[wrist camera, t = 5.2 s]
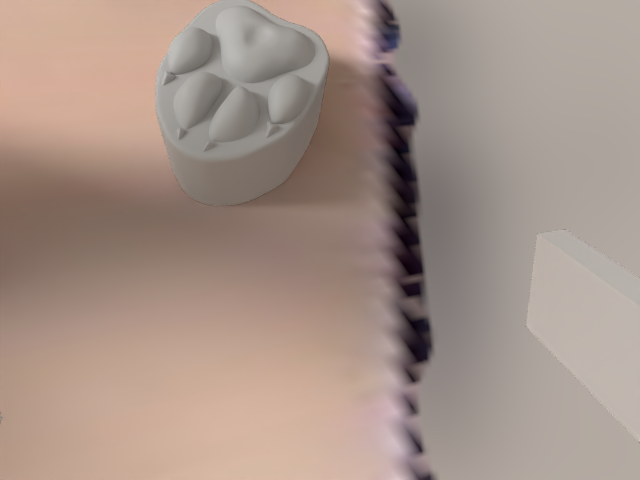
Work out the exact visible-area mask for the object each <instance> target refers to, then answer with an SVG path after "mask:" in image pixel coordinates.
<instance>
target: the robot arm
mask: <svg viewBox="0 0 640 480" xmlns="http://www.w3.org/2000/svg"><path fill="white" fill-rule="evenodd" d="M526 327H527V328H528V329H529V330H530V331H531V332H532V334H533V335H534V336H536V337H537V339H538V340H539V341H540V342H541V343H542V344H543V345H544V346H545V347H546V348H547V349H548V350H549V351H550V352H551V353H552V354H553V355H554V356H555V357H556V358H557V359H558V360H559V361H560V362H561V363H562V364H563V365H564V366H565V367H566V368H567V369H568V370H569V371H570V372H571V373H572V374H573V375H574V376H575V377H576V378H577V379H578V380H579V382H580V383H581V384H583V386H584V387H585V388H586V389H587V390H588V391H589V392H590V393H591V394H592V395H593V396H594V397H595V398H596V399H597V400H598V401H599V402H600V403H601V404H602V405H603V406H604V407H605V408H606V409H607V410H608V411H609V412H610V413H611V414H612V415H613V416H614V417H615V418H616V419H617V420H618V421H619V422H620V423H621V424H622V425H623V426H624V427H625V429H626V430H627V431H629V433H630V434H631V435H632V436H633V437H634V438H635V439H636V440H637V441H638V442H639V443H640V277H638V276H636V275H635V274H633V273H632V272H630V271H629V270H627V269H626V268H624V267H623V266H621V265H620V264H618V263H617V262H615V261H613V260H612V259H610V258H609V257H607V256H606V255H604V254H603V253H601V252H600V251H598V250H596V249H595V248H593V247H592V246H590V245H589V244H587V243H586V242H584V241H583V240H581V239H580V238H578V237H576V236H575V235H574V234H572V233H570V232H569V231H567V230H566V229H563V230H555V231H549V232H542V233H537V238H536V246H535V255H534V263H533V271H532V279H531V287H530V295H529V304H528V311H527V321H526ZM1 420H2V416H1V413H0V422H1Z"/></svg>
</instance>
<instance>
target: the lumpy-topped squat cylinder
mask: <svg viewBox="0 0 640 480" xmlns="http://www.w3.org/2000/svg"><path fill="white" fill-rule="evenodd" d="M328 69H329V54H328V50H327V48H326V45H325V43H324V42H323V40H322V39H321V37H320V36H319V35H318V34H316V33H315V32H313V31H312V30H310V29H308V28H306V27H304V26H301V25H297V24H294V23H291V22H288V21H285V20H283V19H281V18H278V17H277V16H275V15H273V14H271V13H270V12H269V11H267V10H266V9H264V8H263V7H261V6H260V5H258V4H256V3H254V2H252V1H250V0H221V1H218V2H216V3H213V4H211V5H209V6H208V7H206V8H205V9H204V10H202V11H201V12H200V13H199V14H198V15H197V16H196V17H195V18H194V19H193V20H192V21H191V23H190V24H189V25H188V26H187V27H186V28H185V29H184V30H183V31H181V32H180V33H179V34H178V35H177V36H176V37H175V38H174V39H173V41H172V42H171V44H170V47H169V51H168V52H167V54H166V56H165V57H164V59H163V60H162V62H161V64H160V67H159V69H158V73H157V79H156V93H155V102H156V113H157V118H158V122H159V125H160V129H161V133H162V136H163V139H164V143H165V146H166V149H167V153H168V156H169V160H170V163H171V166H172V170H173V172H174V175H175V177H176V179H177V181H178V183H179V185H180V186H181V188H182V189H183V190H184V192H185V193H186V194H187V195H188V196H190V197H191V198H192V199H194V200H196V201H198V202H200V203H203V204H206V205H211V206H228V205H235V204H241V203H245V202H248V201H251V200H253V199H255V198H258V197H260V196H262V195H264V194H266V193H267V192H269V191H271V190H273V189H274V188H276V187H278V186H279V185H281V184H282V183H284V182H285V181H286V180H287V178H288V177H289V176H290V175H291V173H292V172H293V171H294V169H295V168H296V166H297V165H298V163H299V162H300V160H301V158H302V157H303V155H304V153H305V152H306V150H307V148H308V146H309V144H310V141H311V139H312V137H313V135H314V132H315V130H316V128H317V124H318V120H319V115H320V110H321V105H322V100H323V94H324V89H325V84H326V78H327V73H328Z"/></svg>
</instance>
